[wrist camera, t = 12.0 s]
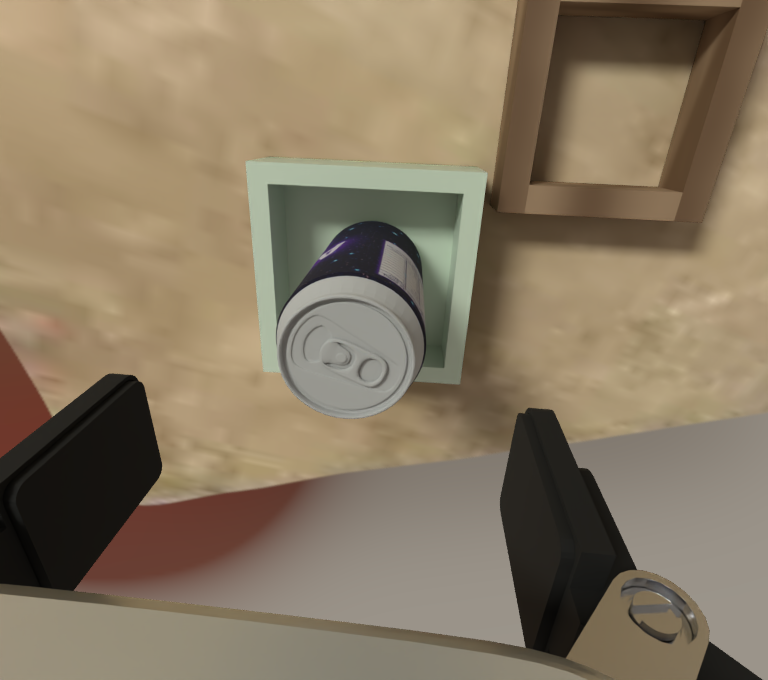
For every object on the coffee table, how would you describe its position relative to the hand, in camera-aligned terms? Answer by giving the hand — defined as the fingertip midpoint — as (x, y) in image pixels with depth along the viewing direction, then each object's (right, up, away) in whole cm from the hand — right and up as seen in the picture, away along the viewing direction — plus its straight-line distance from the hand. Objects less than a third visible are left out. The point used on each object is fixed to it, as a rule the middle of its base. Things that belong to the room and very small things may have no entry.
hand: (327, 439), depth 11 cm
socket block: (+13, +15, +12) cm, 23 cm away
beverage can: (+1, +7, +15) cm, 17 cm away
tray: (+1, +7, +16) cm, 18 cm away
